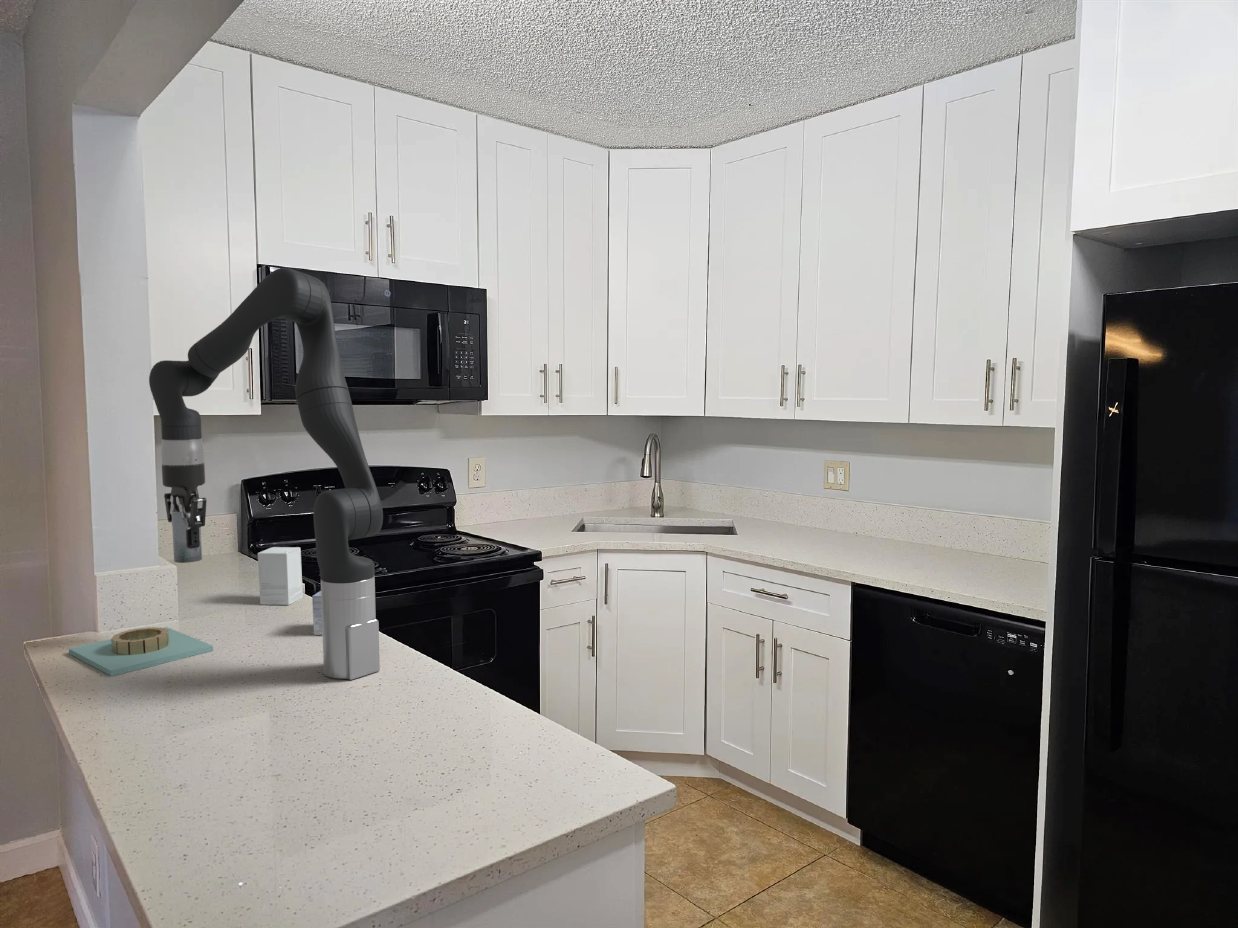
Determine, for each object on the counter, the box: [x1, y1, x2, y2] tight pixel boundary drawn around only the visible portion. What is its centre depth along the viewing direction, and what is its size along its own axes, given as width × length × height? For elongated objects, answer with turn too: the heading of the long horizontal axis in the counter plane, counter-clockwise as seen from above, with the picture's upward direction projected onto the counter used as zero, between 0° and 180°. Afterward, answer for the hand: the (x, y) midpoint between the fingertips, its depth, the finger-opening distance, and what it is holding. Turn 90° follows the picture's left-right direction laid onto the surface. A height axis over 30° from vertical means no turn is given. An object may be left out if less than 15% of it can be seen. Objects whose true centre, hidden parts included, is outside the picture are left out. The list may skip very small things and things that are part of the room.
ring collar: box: [111, 626, 169, 655], centre depth 158 cm, size 9×9×2 cm
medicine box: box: [311, 590, 322, 636], centre depth 173 cm, size 8×4×9 cm, turn 179°
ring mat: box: [68, 626, 214, 677], centre depth 158 cm, size 20×18×1 cm
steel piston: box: [171, 510, 203, 564], centre depth 164 cm, size 5×5×10 cm
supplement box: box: [257, 546, 304, 606], centre depth 195 cm, size 7×7×13 cm
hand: (187, 545), depth 164 cm, fingers closed on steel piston, 5 cm apart
